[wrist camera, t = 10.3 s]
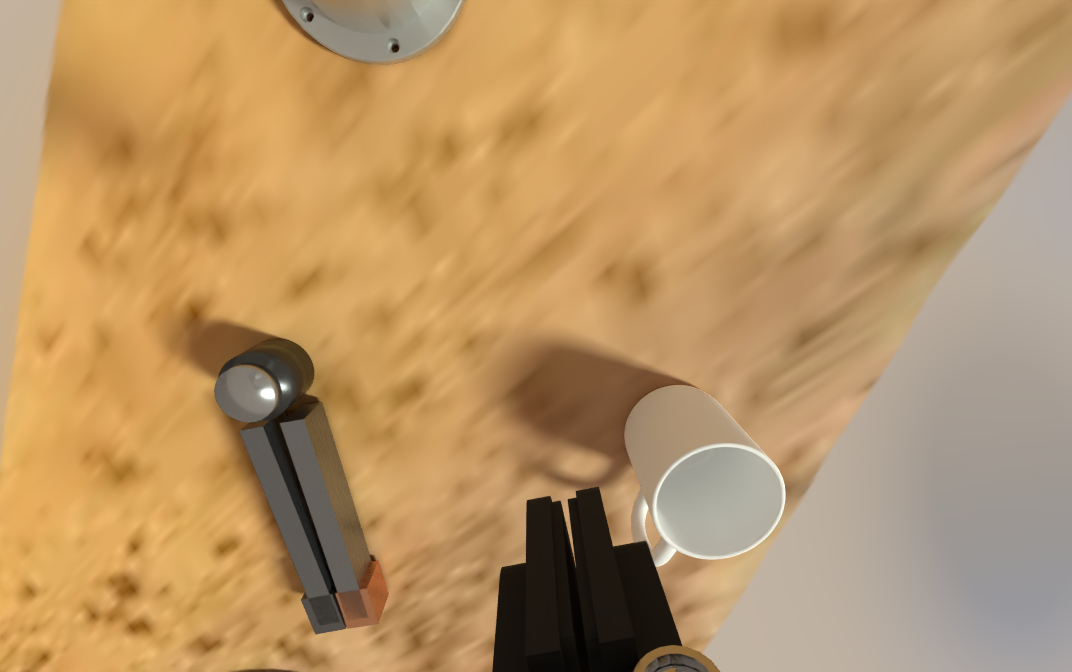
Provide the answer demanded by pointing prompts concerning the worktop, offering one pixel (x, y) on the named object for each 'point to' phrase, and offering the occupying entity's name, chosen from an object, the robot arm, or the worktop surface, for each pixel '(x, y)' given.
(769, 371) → the worktop surface
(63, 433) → the worktop surface
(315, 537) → the base
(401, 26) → the robot arm
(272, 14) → the worktop surface
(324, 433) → the tong arm
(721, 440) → the cup
